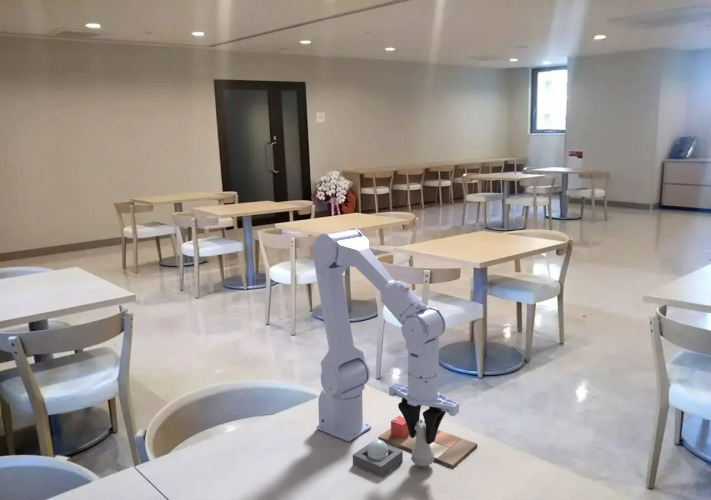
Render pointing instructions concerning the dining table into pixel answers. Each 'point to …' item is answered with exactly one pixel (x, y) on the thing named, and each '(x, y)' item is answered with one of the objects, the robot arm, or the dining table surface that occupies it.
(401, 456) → the dome housing
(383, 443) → the dome button
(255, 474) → the dining table surface
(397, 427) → the red die
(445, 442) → the game board
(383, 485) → the dining table surface
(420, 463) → the rook chess piece
